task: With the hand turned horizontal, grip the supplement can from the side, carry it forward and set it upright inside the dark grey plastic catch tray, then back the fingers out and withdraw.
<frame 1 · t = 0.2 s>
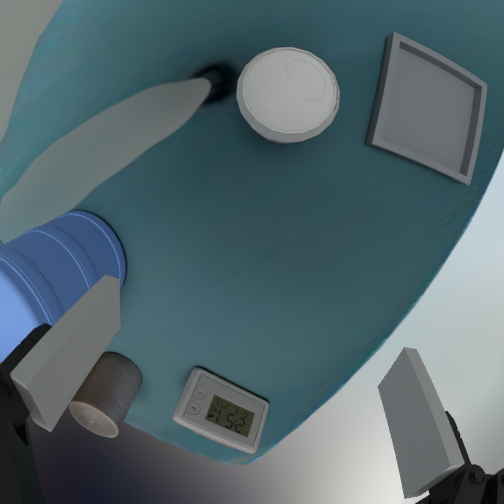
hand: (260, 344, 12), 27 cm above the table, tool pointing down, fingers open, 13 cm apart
pillar candle: (121, 370, 50), on the table
catch tray: (428, 109, 31), on the table
water jug: (87, 256, 42), on the table
digital clock: (228, 389, 50), on the table
supplement can: (282, 111, 33), on the table
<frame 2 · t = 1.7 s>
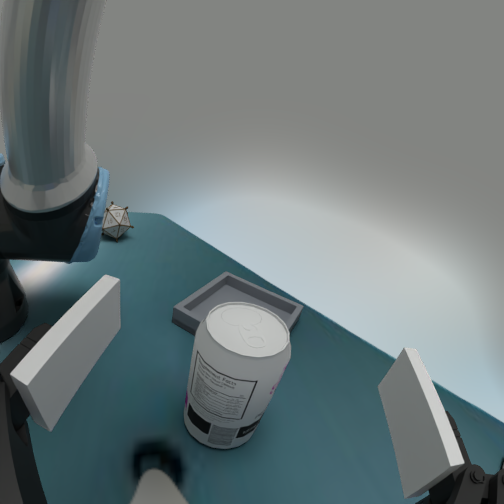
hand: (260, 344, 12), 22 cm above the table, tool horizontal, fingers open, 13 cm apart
catch tray: (240, 321, 48), on the table
game die: (113, 237, 64), on the table
supplement can: (218, 422, 30), on the table
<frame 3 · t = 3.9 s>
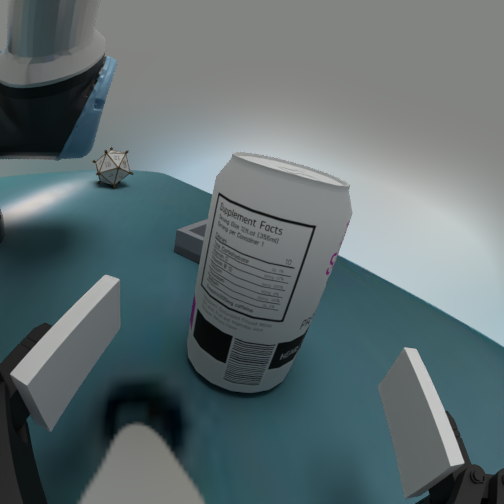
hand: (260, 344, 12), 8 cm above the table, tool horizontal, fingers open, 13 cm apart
catch tray: (255, 256, 41), on the table
game die: (110, 186, 57), on the table
supplement can: (237, 360, 23), on the table
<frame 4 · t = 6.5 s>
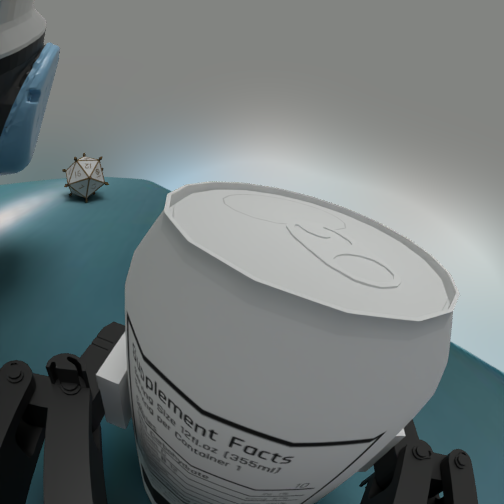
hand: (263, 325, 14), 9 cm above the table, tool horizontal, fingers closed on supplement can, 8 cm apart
game die: (83, 199, 47), on the table
supplement can: (217, 483, 13), on the table, touching gripper
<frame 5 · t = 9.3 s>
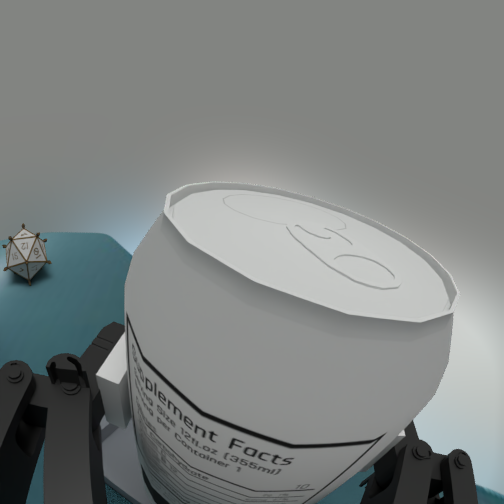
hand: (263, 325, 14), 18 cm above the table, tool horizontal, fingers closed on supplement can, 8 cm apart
catch tray: (197, 455, 22), on the table
game die: (28, 277, 37), on the table
supplement can: (217, 483, 13), point 9 cm above the table, touching gripper
when the fingers open (11 cm above the table, at t = 12.4 s): supplement can drops 1 cm, resting on catch tray.
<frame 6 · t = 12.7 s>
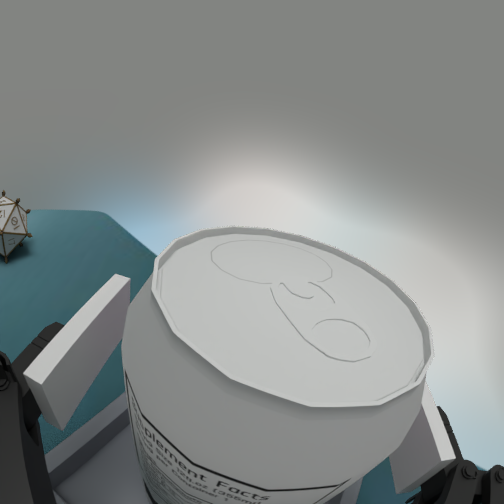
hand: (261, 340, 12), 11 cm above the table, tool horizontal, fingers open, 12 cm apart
catch tray: (212, 493, 13), on the table
game die: (7, 254, 29), on the table
supplement can: (214, 490, 13), point 1 cm above the table, touching catch tray
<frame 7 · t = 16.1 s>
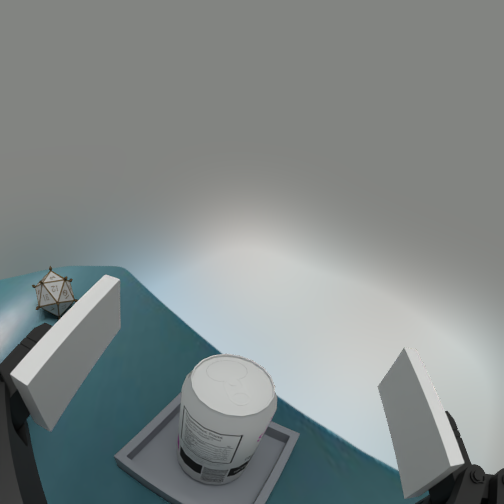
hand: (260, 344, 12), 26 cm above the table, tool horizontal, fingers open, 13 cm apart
catch tray: (210, 460, 29), on the table
game die: (57, 312, 45), on the table
supplement can: (211, 458, 28), point 1 cm above the table, touching catch tray
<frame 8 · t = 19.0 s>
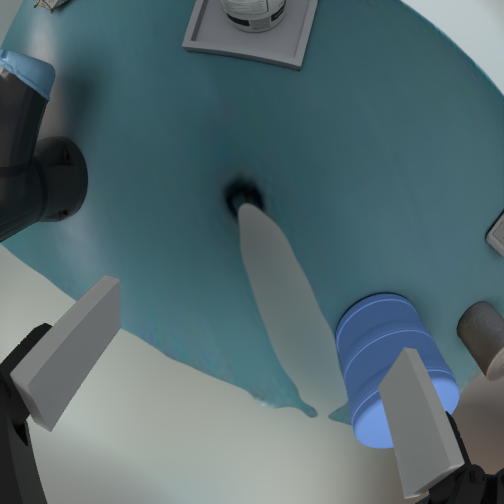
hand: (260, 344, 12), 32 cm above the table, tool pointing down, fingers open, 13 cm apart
pillar candle: (474, 319, 47), on the table
catch tray: (255, 12, 31), on the table
water jug: (376, 327, 49), on the table
supplement can: (255, 10, 30), point 1 cm above the table, touching catch tray
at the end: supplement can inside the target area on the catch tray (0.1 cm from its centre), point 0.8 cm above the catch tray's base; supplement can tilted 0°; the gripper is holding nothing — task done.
